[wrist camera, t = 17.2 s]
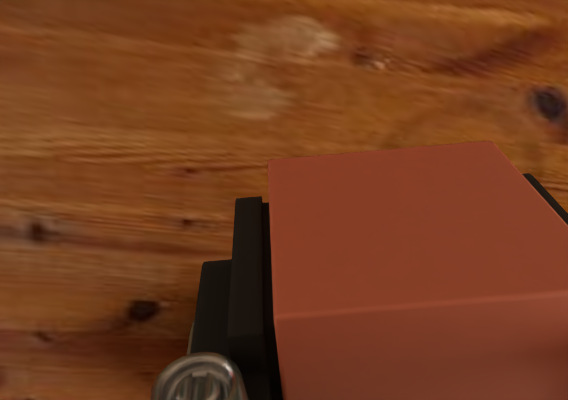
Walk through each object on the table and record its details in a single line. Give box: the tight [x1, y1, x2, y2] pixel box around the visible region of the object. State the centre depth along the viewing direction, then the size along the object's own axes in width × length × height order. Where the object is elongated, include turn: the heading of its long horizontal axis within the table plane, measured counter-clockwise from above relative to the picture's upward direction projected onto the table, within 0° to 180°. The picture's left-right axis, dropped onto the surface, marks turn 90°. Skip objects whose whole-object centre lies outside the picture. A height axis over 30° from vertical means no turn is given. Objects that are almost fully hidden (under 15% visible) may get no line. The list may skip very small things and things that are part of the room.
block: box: [268, 141, 568, 400], centre depth 10 cm, size 4×4×4 cm
